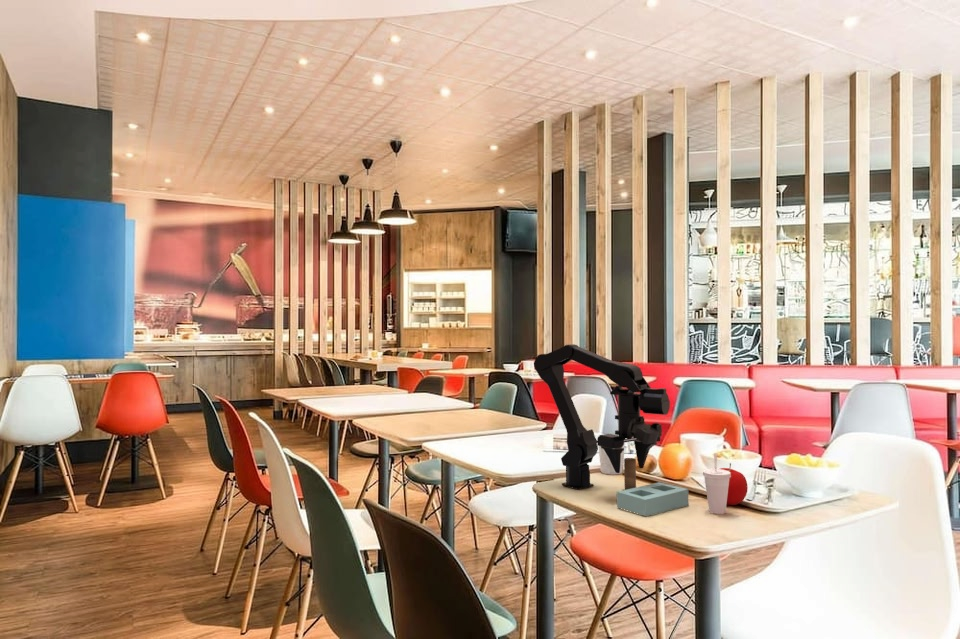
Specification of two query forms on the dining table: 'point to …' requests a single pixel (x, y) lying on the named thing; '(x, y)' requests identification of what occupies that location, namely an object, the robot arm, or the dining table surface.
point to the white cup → (609, 463)
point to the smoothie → (717, 488)
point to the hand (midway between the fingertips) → (629, 470)
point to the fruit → (736, 487)
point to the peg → (629, 473)
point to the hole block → (652, 498)
